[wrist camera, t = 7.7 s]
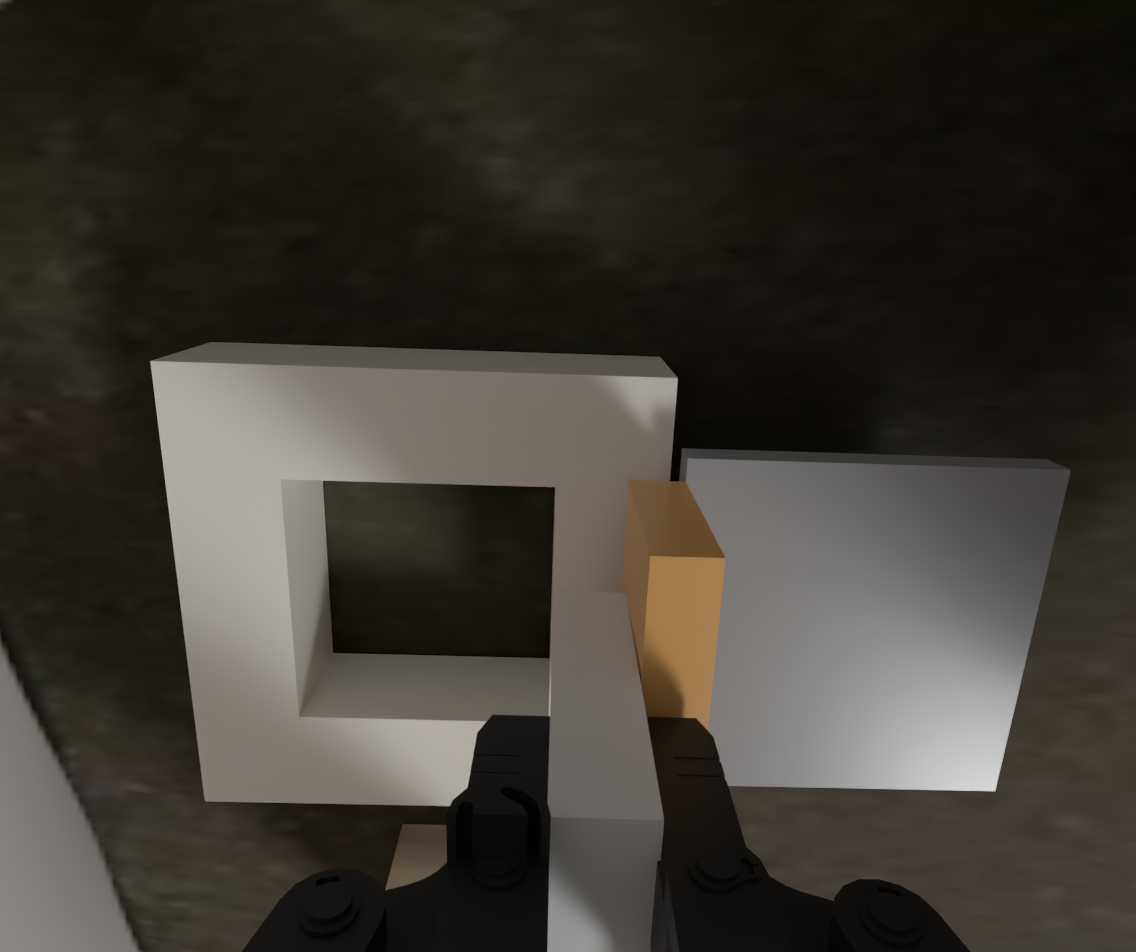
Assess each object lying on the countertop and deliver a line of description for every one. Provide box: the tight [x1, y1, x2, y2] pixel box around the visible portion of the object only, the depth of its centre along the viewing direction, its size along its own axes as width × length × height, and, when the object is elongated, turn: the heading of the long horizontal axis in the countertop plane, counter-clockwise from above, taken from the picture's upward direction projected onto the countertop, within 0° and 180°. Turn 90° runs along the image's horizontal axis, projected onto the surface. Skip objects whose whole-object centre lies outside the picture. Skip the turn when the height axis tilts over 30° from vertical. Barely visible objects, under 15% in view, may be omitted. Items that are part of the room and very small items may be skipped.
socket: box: [150, 342, 678, 806], centre depth 19 cm, size 11×11×3 cm
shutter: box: [621, 448, 1071, 791], centre depth 16 cm, size 8×9×5 cm
